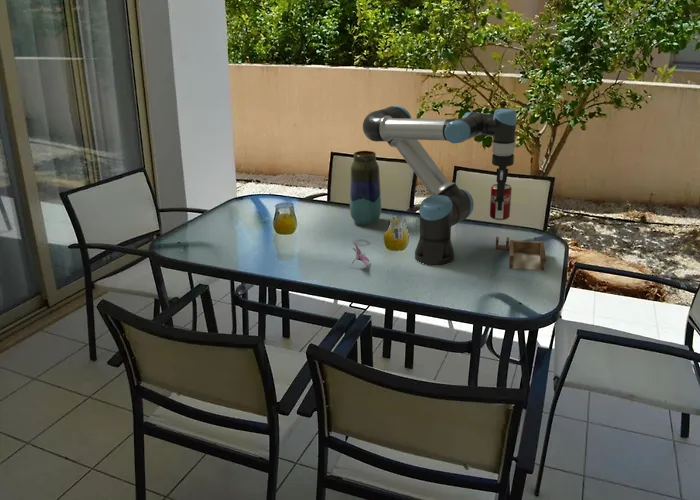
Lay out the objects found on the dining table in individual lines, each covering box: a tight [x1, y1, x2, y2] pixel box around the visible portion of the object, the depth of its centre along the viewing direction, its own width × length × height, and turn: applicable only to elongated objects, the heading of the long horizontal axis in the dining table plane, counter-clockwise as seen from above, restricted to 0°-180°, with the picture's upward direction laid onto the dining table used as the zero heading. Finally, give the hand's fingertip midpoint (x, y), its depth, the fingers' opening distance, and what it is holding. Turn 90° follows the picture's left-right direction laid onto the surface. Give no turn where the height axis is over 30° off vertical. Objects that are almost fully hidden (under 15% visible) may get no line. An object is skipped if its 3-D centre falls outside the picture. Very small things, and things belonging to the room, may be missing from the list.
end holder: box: [508, 239, 547, 272], centre depth 234 cm, size 12×15×5 cm
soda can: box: [489, 183, 512, 221], centre depth 230 cm, size 7×7×12 cm
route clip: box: [494, 236, 510, 251], centre depth 247 cm, size 5×4×4 cm
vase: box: [349, 150, 382, 226], centre depth 272 cm, size 14×14×31 cm
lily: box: [351, 240, 370, 267], centre depth 233 cm, size 12×12×10 cm
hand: (499, 214), depth 232 cm, fingers closed on soda can, 7 cm apart
